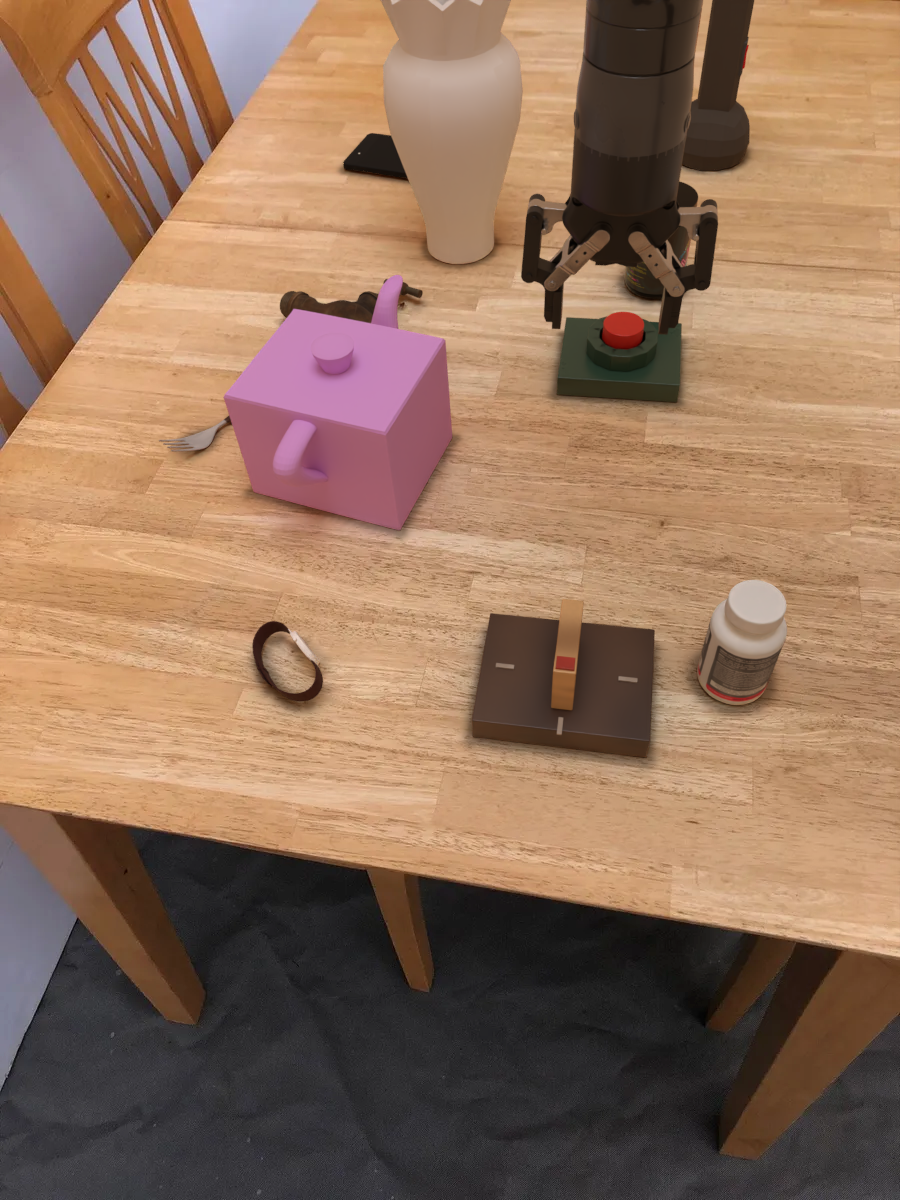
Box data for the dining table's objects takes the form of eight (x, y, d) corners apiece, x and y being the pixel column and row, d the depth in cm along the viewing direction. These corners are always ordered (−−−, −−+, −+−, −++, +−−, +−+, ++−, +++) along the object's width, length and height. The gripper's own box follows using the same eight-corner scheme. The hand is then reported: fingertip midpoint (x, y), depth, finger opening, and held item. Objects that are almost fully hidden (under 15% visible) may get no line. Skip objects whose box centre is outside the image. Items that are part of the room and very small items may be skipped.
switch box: (678, 340, 98) (684, 308, 95) (677, 402, 92) (682, 370, 89) (565, 334, 99) (567, 302, 96) (556, 394, 94) (557, 362, 90)
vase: (411, 290, 106) (382, 8, 83) (390, 224, 115) (359, -48, 92) (536, 269, 107) (541, -16, 84) (505, 205, 116) (502, -68, 93)
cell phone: (467, 189, 119) (467, 182, 118) (342, 170, 123) (341, 163, 123) (491, 156, 124) (491, 149, 123) (369, 138, 128) (369, 132, 128)
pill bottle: (781, 690, 71) (813, 614, 63) (722, 717, 70) (748, 643, 62) (739, 639, 74) (765, 561, 66) (682, 664, 73) (702, 587, 65)
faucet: (262, 340, 102) (351, 287, 110) (382, 386, 94) (466, 325, 103) (255, 299, 98) (346, 247, 107) (378, 344, 91) (466, 284, 99)
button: (643, 327, 94) (645, 312, 92) (641, 351, 91) (643, 336, 90) (603, 324, 94) (604, 310, 93) (600, 349, 92) (602, 334, 90)
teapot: (478, 391, 94) (473, 269, 83) (377, 570, 81) (355, 452, 70) (345, 363, 98) (323, 243, 87) (227, 528, 85) (184, 410, 74)
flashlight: (662, 167, 119) (741, 176, 117) (692, -59, 100) (787, -55, 97) (676, 131, 125) (751, 139, 123) (706, -90, 105) (796, -87, 103)
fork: (303, 386, 97) (300, 370, 95) (178, 466, 90) (172, 451, 89) (287, 375, 98) (284, 360, 96) (163, 454, 91) (157, 439, 90)
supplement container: (663, 309, 101) (677, 220, 93) (611, 288, 104) (619, 200, 96) (695, 279, 104) (710, 191, 96) (643, 260, 107) (654, 173, 99)
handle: (559, 637, 72) (562, 596, 68) (580, 639, 72) (584, 598, 68) (550, 708, 68) (553, 669, 64) (572, 711, 68) (576, 672, 64)
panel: (651, 643, 74) (655, 624, 72) (646, 762, 68) (650, 744, 66) (491, 627, 76) (490, 608, 74) (471, 741, 70) (470, 723, 68)
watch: (340, 688, 73) (332, 662, 71) (288, 719, 72) (279, 694, 69) (292, 626, 77) (284, 599, 75) (243, 654, 76) (232, 628, 73)
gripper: (737, 99, 63) (698, 302, 76) (530, 95, 65) (526, 294, 78) (742, 155, 59) (699, 360, 72) (519, 149, 61) (516, 350, 74)
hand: (609, 325), depth 75 cm, fingers open, 8 cm apart
